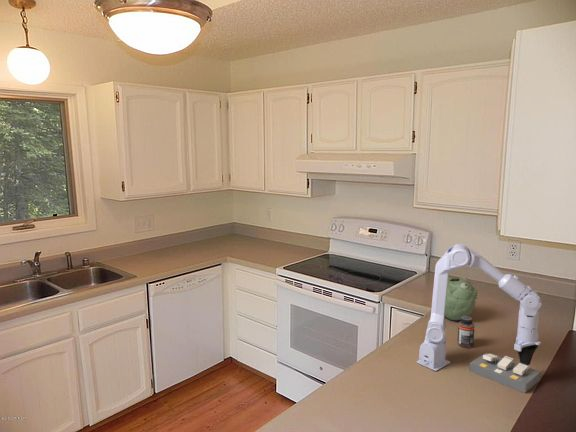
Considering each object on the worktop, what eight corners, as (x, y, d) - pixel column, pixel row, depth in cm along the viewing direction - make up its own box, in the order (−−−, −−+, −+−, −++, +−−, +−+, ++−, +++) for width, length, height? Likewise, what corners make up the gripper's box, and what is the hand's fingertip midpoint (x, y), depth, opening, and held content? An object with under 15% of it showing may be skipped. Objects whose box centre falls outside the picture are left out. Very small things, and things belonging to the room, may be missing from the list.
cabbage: (438, 309, 203) (440, 269, 200) (479, 318, 191) (482, 276, 188) (426, 319, 190) (428, 277, 187) (470, 329, 179) (473, 284, 176)
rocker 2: (505, 370, 138) (505, 366, 138) (497, 367, 141) (497, 363, 140) (513, 361, 142) (513, 358, 142) (505, 358, 144) (505, 355, 144)
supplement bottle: (459, 340, 168) (461, 313, 167) (475, 344, 165) (477, 317, 163) (454, 345, 164) (456, 318, 162) (470, 350, 160) (472, 321, 158)
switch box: (525, 393, 131) (526, 378, 130) (469, 370, 145) (470, 357, 144) (540, 380, 138) (541, 366, 138) (485, 360, 152) (486, 347, 151)
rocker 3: (521, 375, 135) (521, 372, 134) (512, 372, 137) (513, 368, 136) (529, 368, 138) (529, 364, 138) (520, 364, 140) (520, 361, 140)
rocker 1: (490, 361, 142) (491, 357, 142) (482, 358, 144) (483, 354, 144) (498, 359, 146) (498, 356, 146) (490, 356, 148) (490, 353, 148)
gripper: (532, 336, 129) (529, 376, 131) (549, 323, 139) (546, 362, 140) (508, 329, 135) (505, 368, 137) (526, 317, 144) (524, 354, 146)
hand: (524, 364), depth 139 cm, fingers closed, pressing on rocker 3
